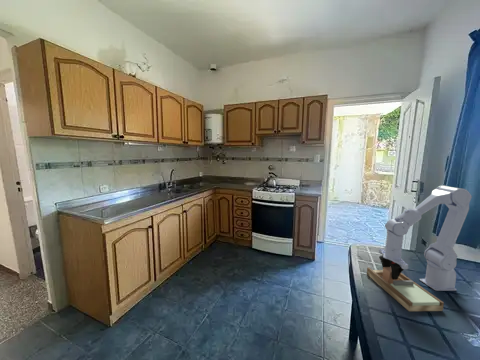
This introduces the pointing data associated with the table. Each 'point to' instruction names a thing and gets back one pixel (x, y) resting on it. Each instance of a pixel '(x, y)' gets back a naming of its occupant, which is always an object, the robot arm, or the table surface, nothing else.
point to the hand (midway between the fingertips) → (390, 275)
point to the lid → (414, 293)
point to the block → (387, 275)
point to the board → (398, 296)
